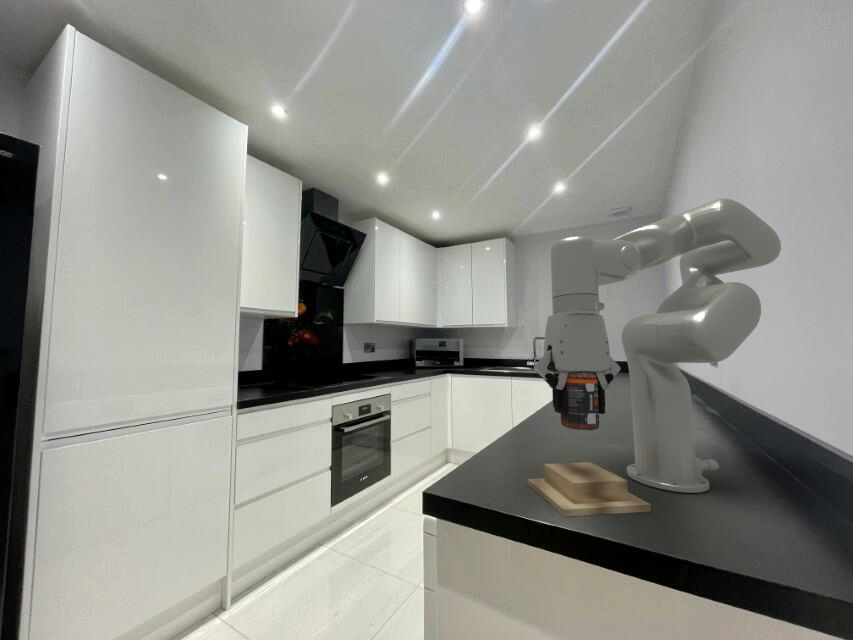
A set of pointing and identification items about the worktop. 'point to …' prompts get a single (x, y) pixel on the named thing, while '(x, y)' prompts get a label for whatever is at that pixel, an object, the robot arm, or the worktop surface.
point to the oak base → (586, 507)
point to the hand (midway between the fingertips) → (579, 411)
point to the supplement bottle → (581, 401)
